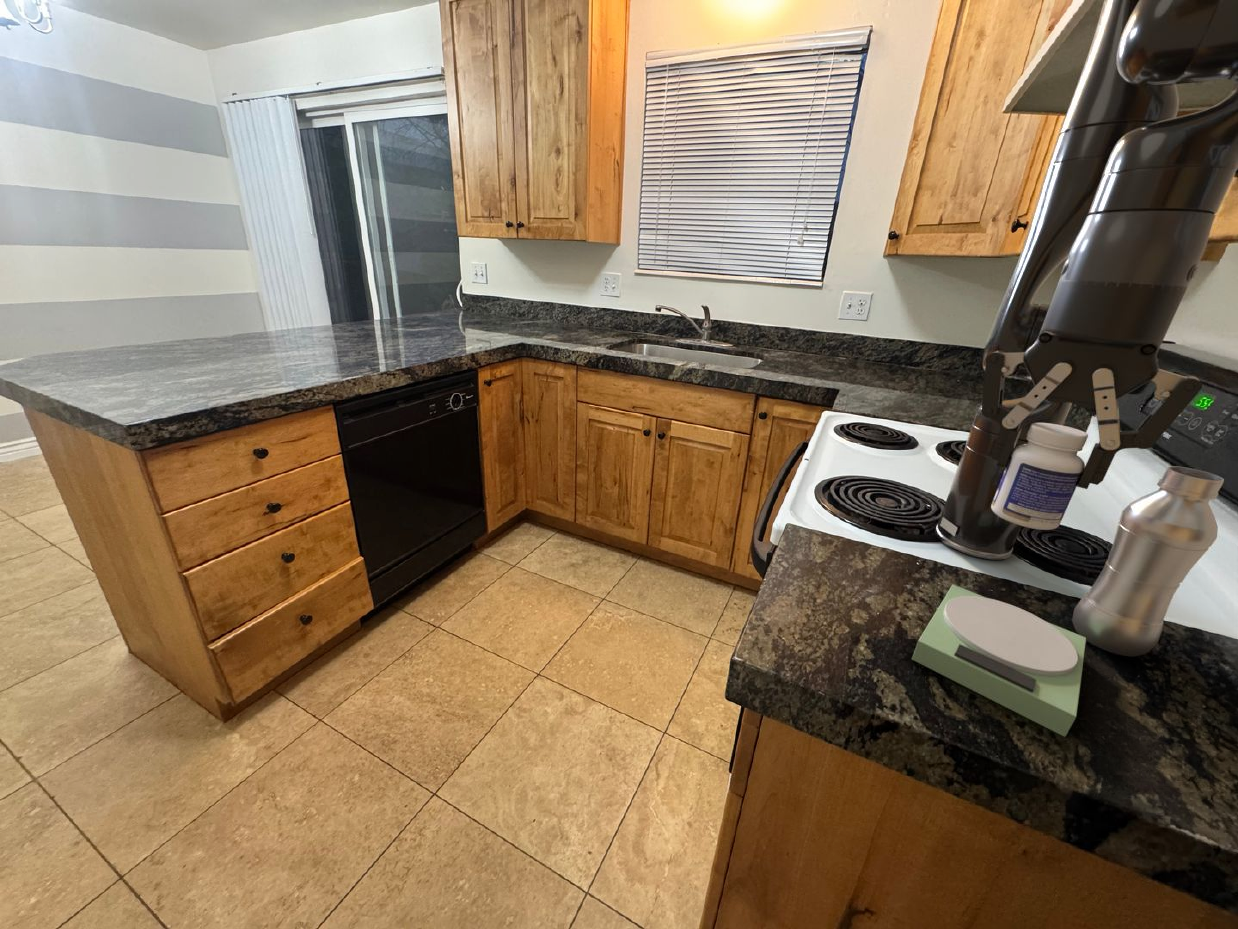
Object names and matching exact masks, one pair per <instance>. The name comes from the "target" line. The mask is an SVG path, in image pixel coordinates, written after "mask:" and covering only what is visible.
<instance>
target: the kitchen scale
mask: <svg viewBox="0 0 1238 929" xmlns="http://www.w3.org/2000/svg"><path fill="white" fill-rule="evenodd" d="M1086 643H1087V641H1086V637H1083V636H1081V635H1079V634H1078V633H1077V632H1076V633H1075V632H1073V631H1070V630H1068V629H1066V628H1063V627H1061V626H1058V625H1056V624H1054V623H1050V622H1048V621H1046V620H1044V619H1042V618H1040V617H1038V616H1037V615H1035V614H1033V613H1031V612H1029V611H1027V610H1025V609H1022V608H1020V607H1018V606H1015V605H1014V604H1013V605H1012V604H1010V603H1007V602H1004V601H1001V600H997V599H993V598H989V597H987V596H983V595H981V594H978V593H976V592H973V591H970V590H968V589H965V588H963V587H961V586H958V585H956V584H951V586H950V588H949V590H948V592H947V593H946V595H945V596H944V597H943V600H942V601H941V603H940V604H939V606H938V607H937V609H936V611H935V612H934V614H933V616H932V618H931V619H930V621H929V622H928V624H927V626H926V627H925V629H924V631H923V632H922V634H921V636H920V638H919V639H918V640H917V642H916V646H915V648H914V651H913V654H912V657H911V660H912V661H913V662H915V663H918V664H920V665H922V666H924V667H926V668H928V669H930V670H932V671H934V672H935V673H937V674H940V675H942V676H944V677H946V678H948V679H950V680H951V681H953V682H954V683H957V684H959V685H961V686H963V687H966V688H967V689H969V690H971V691H973V692H975V693H976V694H979V695H981V696H983V697H985V698H987V699H989V700H991V701H992V702H994V703H997V704H999V705H1000V706H1003V707H1004V708H1007V709H1009V710H1010V711H1012V712H1014V713H1017V714H1019V715H1021V716H1022V717H1024V718H1025V719H1028V720H1030V721H1032V722H1034V723H1036V724H1038V725H1039V726H1043V727H1044V728H1046V729H1048V730H1049V731H1052V732H1054V733H1056V734H1058V735H1060V736H1062V737H1064V738H1066V736H1067V735H1068V733H1069V731H1070V729H1071V728H1072V726H1073V724H1074V722H1075V720H1076V719H1077V715H1078V706H1079V698H1080V692H1081V684H1082V675H1083V669H1084V668H1083V666H1084V661H1085V660H1084V658H1085V652H1086V651H1085V650H1086Z"/></svg>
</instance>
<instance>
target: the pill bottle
mask: <svg viewBox="0 0 1238 929" xmlns="http://www.w3.org/2000/svg"><path fill="white" fill-rule="evenodd" d="M1088 437H1089V434H1088V433H1087V432H1085V431H1083V430H1081V429H1077V428H1074V427H1071V426H1066V425H1063V426H1062V425H1057V424H1050V423H1033V424H1031V426H1030V429H1029V431H1028V433H1027V437H1026V439H1027V440H1028V443H1027V444H1024V445H1020V446H1017V447H1016V448H1014V449H1013V451H1012V453H1011V455H1010V458H1009V460H1008V463H1007V466H1006V468H1005V471H1004V474H1003V476H1002V479H1001V481H1000V484H999V487H998V489H997V492H996V494H995V497H994V499H993V502H992V505H991V508H992V510H993V512H994V513H995V514H996V515H998V516H999V517H1001V518H1003V519H1005V520H1007V521H1009V522H1012V523H1015V524H1017V525H1021V526H1022V527H1025V528H1029V529H1034V530H1040V531H1041V530H1043V531H1049V530H1050V531H1051V530H1056V529H1057V528H1059V526H1060V525H1061V522H1062V521H1063V518H1064V516H1065V514H1066V511H1067V509H1068V506H1069V504H1070V502H1071V500H1072V498H1073V496H1074V494H1075V491H1076V489H1077V488H1078V487H1077V484H1078V482H1079V480H1080V478H1081V476H1082V473H1083V471H1084V468H1085V466H1086V463H1085V461H1084V460H1083V459H1082V457H1080V456H1079V455H1078V453H1079V452H1082V451H1083V448H1084V447H1085V444H1086V442H1087V439H1088Z"/></svg>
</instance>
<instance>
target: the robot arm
mask: <svg viewBox="0 0 1238 929" xmlns="http://www.w3.org/2000/svg"><path fill="white" fill-rule="evenodd" d="M1097 21H1098V22H1097V25H1096V28H1095V31H1094V32H1095V33H1094V34H1093V39H1092V42H1091V45H1090V48H1089V51H1088V54H1087V56H1086V60H1085V62H1084V65H1083V69H1082V70H1081V74H1080V76H1079V79H1078V82H1077V85H1076V87H1075V89H1074V93H1073V95H1072V98H1071V101H1070V104H1069V106H1068V109H1067V111H1066V114H1065V117H1064V119H1063V122H1062V125H1061V128H1060V131H1059V133H1058V137H1057V139H1056V142H1055V145H1054V148H1053V151H1052V154H1051V156H1050V160H1049V162H1048V166H1047V169H1046V172H1045V174H1044V179H1043V181H1042V182H1043V183H1042V185H1041V188H1040V191H1039V195H1038V198H1037V202H1036V206H1035V209H1034V213H1033V216H1032V219H1031V223H1030V226H1029V229H1028V231H1027V235H1026V238H1025V241H1024V244H1023V246H1022V250H1021V252H1020V255H1019V257H1018V261H1017V263H1016V265H1015V268H1014V271H1013V273H1012V275H1011V278H1010V281H1009V283H1008V286H1007V288H1006V290H1005V293H1004V296H1003V298H1002V300H1001V303H1000V305H999V308H998V311H997V313H996V316H995V318H994V319H993V320H994V321H993V322H992V325H991V327H990V328H991V329H990V331H989V334H988V336H987V339H986V343H985V345H984V350H983V354H982V362H981V363H982V369H983V371H984V380H983V390H982V391H983V392H982V401H981V402H982V404H981V405H979V407H978V409H977V410H976V412H975V415H974V419H973V422H972V425H971V427H970V431H969V434H968V436H967V439H966V442H965V445H964V448H963V451H962V453H961V456H960V459H959V463H958V466H957V468H956V471H955V475H954V477H953V480H952V483H951V486H950V488H949V489H950V490H949V491H948V495H947V498H946V500H945V503H944V506H943V509H942V512H941V514H940V518H939V520H938V523H937V525H935V526H936V527H935V529H934V534H935V536H936V537H937V539H938V540H939V541H941V542H942V543H943V544H944V545H946V546H948V547H950V548H951V549H954V550H956V551H957V552H960V553H963V554H965V555H969V556H972V557H976V558H980V559H985V560H994V561H995V560H997V561H999V560H1006V559H1008V558H1010V557H1011V556H1012V554H1013V550H1014V545H1015V544H1016V541H1017V538H1018V536H1019V533H1020V532H1021V530H1022V527H1023V526H1021V525H1017V524H1015V523H1012V522H1009V521H1007V520H1005V519H1003V518H1001V517H999V516H998V515H996V514H995V513H994V512H993V510H992V508H991V505H992V502H993V499H994V497H995V494H996V492H997V489H998V487H999V484H1000V481H1001V479H1002V476H1003V474H1004V471H1005V468H1006V466H1007V463H1008V460H1009V458H1010V455H1011V453H1012V451H1013V449H1014V448H1016V447H1017V446H1020V445H1024V444H1027V443H1028V440H1027V439H1026V437H1027V433H1028V431H1029V429H1030V426H1031V424H1033V423H1050V424H1057V425H1062V426H1065V423H1066V420H1067V417H1068V415H1069V413H1070V412H1071V411H1070V410H1071V408H1072V406H1073V405H1076V406H1078V407H1080V408H1085V409H1090V410H1093V409H1095V412H1096V414H1095V415H1096V422H1097V427H1098V438H1099V440H1098V441H1099V442H1098V443H1097V442H1095V444H1094V446H1093V448H1092V450H1091V452H1090V455H1089V456H1088V459H1087V462H1086V463H1085V468H1084V471H1083V473H1082V476H1081V478H1080V480H1079V482H1078V484H1077V487H1076V488H1081V489H1084V490H1088V489H1089V487H1090V484H1092V485H1095V486H1098V485H1099V484H1100V483H1102V482H1103V481H1104V479H1105V477H1106V475H1107V473H1108V471H1109V469H1110V467H1111V465H1112V463H1113V460H1114V459H1115V456H1116V454H1117V453H1118V452H1120V451H1122V450H1125V449H1140V450H1147V449H1150V448H1152V447H1153V446H1154V445H1155V444H1156V442H1157V441H1159V439H1160V438H1161V437H1162V436H1163V435H1164V433H1165V432H1166V431H1168V428H1169V427H1170V426H1171V425H1172V424H1173V423H1174V421H1176V420H1177V418H1178V417H1179V416H1180V415H1181V414H1182V413H1183V411H1185V409H1186V408H1187V407H1188V405H1190V403H1191V402H1192V401H1193V400H1194V398H1195V397H1196V396H1197V395H1198V394H1199V392H1200V391H1201V390H1202V388H1203V384H1202V382H1201V380H1200V379H1199V378H1198V377H1197V376H1195V375H1191V374H1189V375H1182V374H1178V373H1174V372H1171V371H1168V370H1165V369H1161V368H1160V366H1159V363H1158V352H1159V350H1160V348H1161V346H1162V344H1163V341H1164V340H1165V337H1166V334H1167V332H1168V331H1169V329H1170V327H1171V325H1172V322H1173V320H1174V317H1175V315H1176V313H1177V311H1178V309H1179V307H1180V304H1181V302H1182V300H1183V298H1184V296H1185V294H1186V292H1187V290H1188V287H1189V285H1190V284H1191V281H1192V280H1193V279H1194V277H1195V276H1196V275H1197V272H1198V268H1199V264H1200V262H1201V260H1202V257H1203V255H1204V253H1205V250H1206V247H1207V244H1208V241H1209V237H1210V234H1211V230H1212V226H1213V223H1214V221H1215V218H1216V214H1217V213H1218V212H1219V209H1220V207H1221V205H1222V203H1223V201H1224V199H1225V196H1226V194H1227V193H1228V191H1229V188H1230V186H1231V185H1232V184H1231V183H1232V182H1233V179H1234V177H1235V175H1236V171H1238V0H1104V1H1103V4H1102V7H1101V11H1100V15H1099V18H1098V20H1097ZM1226 80H1229V81H1230V80H1231V81H1233V80H1234V82H1233V84H1232V87H1231V88H1230V90H1229V91H1228V92H1227V94H1226V95H1225V97H1223V99H1222V100H1221V101H1219V102H1218V103H1216V104H1215V105H1212V106H1210V107H1208V108H1205V109H1201V110H1199V111H1196V112H1193V113H1189V114H1184V115H1180V116H1177V115H1178V113H1179V112H1178V111H1179V108H1180V106H1179V105H1180V99H1179V91H1178V86H1177V85H1182V84H1183V85H1184V84H1193V83H1194V84H1195V83H1204V82H1205V83H1206V82H1207V83H1208V82H1218V81H1226ZM1063 262H1064V263H1063ZM1062 263H1063V264H1062ZM1061 264H1062V267H1061V270H1060V276H1059V280H1058V283H1057V285H1056V288H1055V291H1054V294H1053V296H1052V298H1051V301H1050V303H1049V304H1044V303H1043V304H1042V303H1041V304H1039V303H1034V298H1035V297H1036V294H1037V292H1038V291H1039V289H1040V288H1041V287H1042V286H1043V284H1044V283H1045V282H1046V281H1047V279H1048V278H1049V276H1051V275H1052V273H1053V272H1054V271H1055V270H1056V269H1057V268H1058V267H1059V266H1060V265H1061ZM1006 378H1009V379H1015V380H1021V381H1028V382H1032V384H1033V386H1034V387H1033V388H1032V389H1031V390H1030V391H1029V392H1028V393H1027V394H1026V395H1025V396H1023V397H1019V398H1014V399H1006V400H1004V393H1005V382H1006ZM1150 381H1151V382H1153V383H1154V384H1155V386H1156V387H1155V389H1154V392H1153V395H1154V398H1155V399H1156V400H1158V401H1159V402H1158V403H1157V404H1156V406H1155V407H1154V408H1153V409H1152V411H1151V412H1149V414H1148V415H1147V416H1146V418H1145V419H1144V420H1143V421H1142V423H1141V424H1140V425H1139V426H1138V428H1137V429H1136V430H1135V429H1134V430H1121V422H1120V410H1119V401H1118V400H1119V399H1121V398H1123V397H1124V396H1126V395H1128V394H1129V393H1131V392H1133V391H1135V390H1137V389H1138V388H1140V387H1142V386H1144V385H1145V384H1147V383H1149V382H1150Z"/></svg>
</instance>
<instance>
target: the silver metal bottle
mask: <svg viewBox="0 0 1238 929" xmlns="http://www.w3.org/2000/svg"><path fill="white" fill-rule="evenodd" d="M1224 481H1225V479H1224V478H1223V477H1221V476H1219V475H1217V474H1214V473H1211V472H1208V471H1203V470H1201V469H1196V468H1190V467H1185V466H1177V465H1175V466H1174V465H1172V466H1168V467H1167V468H1166V470H1165V472H1164V473H1163V475H1162V477H1161V478H1159V479H1158V481H1157V483H1156V485H1157V486H1158V487H1159V488H1158V489H1157V490H1156V491H1153V492H1150V493H1148V494H1146V495H1144V496H1141V497H1139V498H1138V499H1136V500H1134V501H1131V502H1130V503H1129V504H1128V505H1127V506H1126V507H1125V508H1124V509H1122V511H1121V514H1120V516H1119V521H1118V523H1117V527H1116V531H1115V535H1114V539H1113V543H1112V545H1111V548H1110V551H1109V554H1108V555H1107V559H1106V561H1105V564H1104V566H1103V568H1102V570H1101V572H1100V574H1099V575H1098V576H1097V578H1096V580H1095V581H1094V583H1093V584H1092V586H1091V587H1090V589H1089V590H1088V591H1087V592H1086V593H1085V594H1084V595H1083V596H1082V597H1081V599H1080V600H1079V601H1078V602H1077V604H1076V606H1075V607H1074V609H1073V614H1072V619H1071V620H1072V621H1071V622H1072V625H1073V628H1074V629H1075V630H1074V631H1075V632H1076V634H1078V635H1081V636H1083V637H1086V642H1088V643H1090V644H1091V645H1093V646H1095V647H1097V648H1099V649H1101V650H1104V651H1106V652H1108V653H1112V654H1115V655H1118V656H1123V657H1138V656H1142V655H1146V654H1148V653H1149V652H1150V651H1151V650H1153V648H1154V647H1155V646H1156V645H1157V644H1158V643H1159V640H1160V638H1161V635H1162V633H1163V632H1162V631H1163V629H1164V628H1163V627H1164V620H1165V617H1166V615H1167V612H1168V610H1169V608H1170V605H1171V602H1172V600H1173V598H1174V595H1175V594H1176V592H1177V590H1178V589H1179V588H1180V586H1181V584H1182V583H1183V581H1184V580H1185V578H1186V577H1187V575H1188V574H1189V573H1190V571H1191V570H1192V568H1193V567H1195V565H1197V563H1198V562H1199V560H1200V559H1201V558H1202V557H1203V556H1204V555H1205V554H1206V553H1207V551H1208V550H1209V549H1210V548H1211V547H1212V546H1213V544H1214V543H1215V542H1216V540H1217V538H1218V531H1219V526H1218V523H1217V520H1216V516H1215V515H1214V513H1213V510H1212V507H1211V506H1210V504H1209V503H1210V501H1211V500H1212V501H1213V500H1216V499H1217V498H1218V496H1219V491H1220V489H1221V488H1222V486H1223V485H1224Z"/></svg>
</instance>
